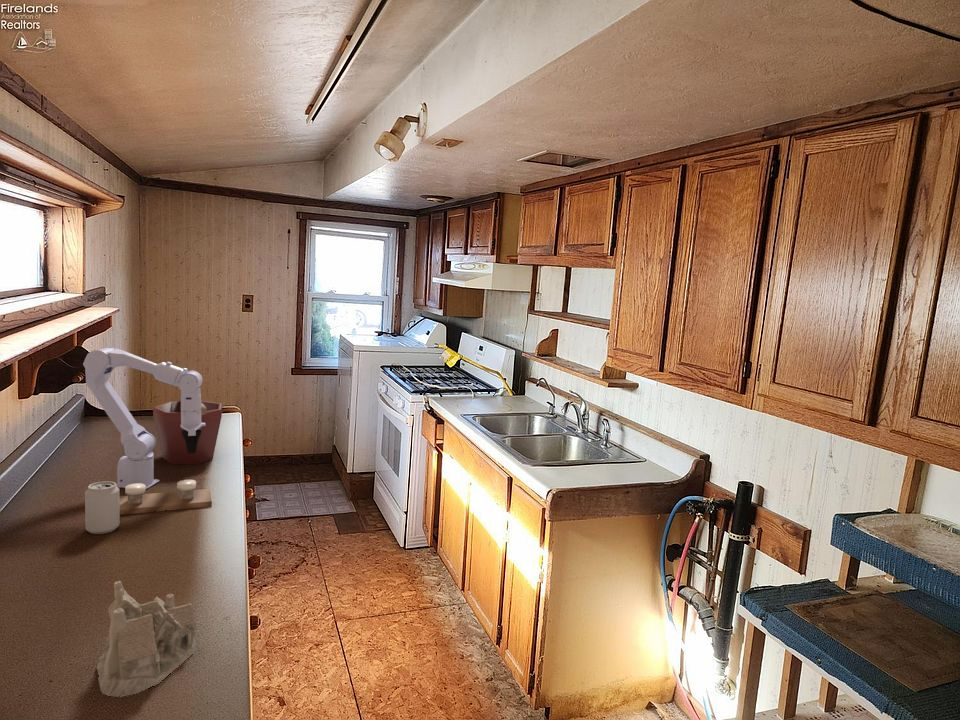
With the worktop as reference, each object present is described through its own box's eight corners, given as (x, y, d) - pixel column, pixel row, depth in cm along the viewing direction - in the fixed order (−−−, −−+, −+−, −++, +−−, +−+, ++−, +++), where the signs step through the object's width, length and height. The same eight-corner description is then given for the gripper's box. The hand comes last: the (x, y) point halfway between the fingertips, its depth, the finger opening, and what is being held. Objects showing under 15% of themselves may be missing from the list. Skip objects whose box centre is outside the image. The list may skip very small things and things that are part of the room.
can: (126, 527, 160) (126, 482, 158) (100, 537, 153) (99, 491, 151) (105, 521, 162) (104, 477, 161) (78, 531, 155) (77, 486, 154)
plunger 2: (176, 499, 176) (176, 485, 175) (176, 493, 180) (176, 480, 180) (196, 498, 178) (196, 484, 177) (195, 492, 182) (195, 479, 182)
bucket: (220, 466, 213) (221, 395, 210) (148, 469, 205) (148, 396, 202) (221, 446, 235) (222, 382, 232) (157, 449, 227) (157, 382, 224)
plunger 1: (124, 504, 170) (124, 490, 169) (125, 498, 174) (125, 484, 174) (145, 502, 172) (145, 488, 172) (145, 496, 177) (145, 482, 176)
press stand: (106, 516, 166) (106, 501, 165) (110, 501, 175) (110, 488, 175) (211, 506, 177) (211, 492, 177) (209, 493, 187) (209, 480, 186)
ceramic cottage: (91, 703, 96) (97, 611, 95) (99, 649, 110) (105, 568, 109) (200, 685, 103) (207, 598, 102) (195, 636, 118) (201, 560, 117)
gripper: (206, 414, 186) (206, 458, 187) (204, 404, 198) (204, 445, 200) (180, 415, 182) (181, 460, 184) (180, 405, 195) (180, 447, 197)
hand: (191, 452), depth 192 cm, fingers closed
